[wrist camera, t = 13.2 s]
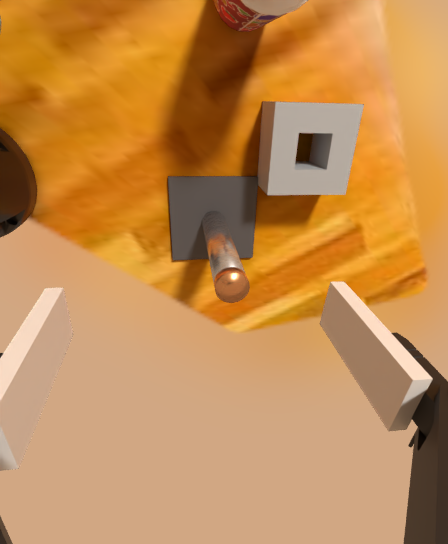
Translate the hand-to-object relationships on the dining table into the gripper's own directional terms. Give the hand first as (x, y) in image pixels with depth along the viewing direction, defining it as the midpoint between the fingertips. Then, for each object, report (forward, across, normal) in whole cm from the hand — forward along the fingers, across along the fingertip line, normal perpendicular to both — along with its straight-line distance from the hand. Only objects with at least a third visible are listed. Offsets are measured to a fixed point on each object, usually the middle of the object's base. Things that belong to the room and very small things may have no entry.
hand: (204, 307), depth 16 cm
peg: (+30, +4, -6) cm, 31 cm away
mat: (+30, +4, -6) cm, 31 cm away
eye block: (+30, +15, +4) cm, 34 cm away
